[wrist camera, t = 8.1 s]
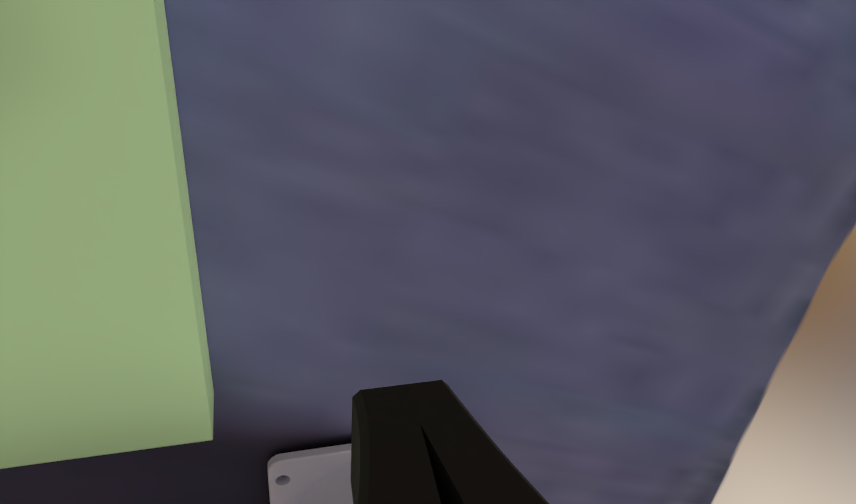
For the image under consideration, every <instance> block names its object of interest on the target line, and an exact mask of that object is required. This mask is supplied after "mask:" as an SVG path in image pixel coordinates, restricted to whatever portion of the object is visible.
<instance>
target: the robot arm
mask: <svg viewBox="0 0 856 504" xmlns="http://www.w3.org/2000/svg"><path fill="white" fill-rule="evenodd" d="M267 469H268V483H269V496H270V504H549V503H548V502H547V501H546V500H545V499H544V498H543V497H542V496H541V494H540V493H539V492H538V491H537V490H536V489H535V488H534V487H533V486H532V485H531V484H530V482H529V481H528V480H527V479H526V478H525V477H524V476H523V475H522V474H521V473H520V472H519V470H518V469H517V468H516V467H515V466H514V465H513V464H512V463H511V462H510V460H509V459H508V458H507V457H506V456H505V455H504V454H503V452H502V451H501V450H500V449H499V448H498V447H497V445H496V444H495V443H494V442H493V441H492V439H491V438H490V437H489V436H488V435H487V433H486V432H485V431H484V430H483V429H482V427H481V426H480V425H479V424H478V423H477V421H476V420H475V419H474V418H473V416H472V415H471V414H470V413H469V411H468V410H467V409H466V408H465V406H464V405H463V404H462V403H461V401H460V400H459V399H458V398H457V396H456V395H455V394H454V392H453V391H452V390H451V389H450V387H449V386H448V385H447V384H446V383H445V382H443V381H442V380H438V381H430V382H422V383H414V384H406V385H398V386H390V387H382V388H374V389H365V390H360V391H359V392H358V393H357V394H355V395H354V396H353V397H352V439H351V443H350V444H343V445H336V446H329V447H323V448H316V449H309V450H302V451H295V452H288V453H281V454H277V455H275V456H273V457H272V458H271V459H270V460H269V461H268V464H267ZM282 475H286V476H283V477H280V476H282Z"/></svg>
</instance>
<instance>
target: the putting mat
mask: <svg viewBox="0 0 856 504" xmlns="http://www.w3.org/2000/svg"><path fill="white" fill-rule="evenodd" d="M213 409H214V391H213V383H212V375H211V367H210V359H209V351H208V344H207V336H206V328H205V320H204V312H203V304H202V297H201V289H200V281H199V273H198V265H197V257H196V250H195V242H194V234H193V226H192V218H191V210H190V203H189V195H188V187H187V179H186V171H185V163H184V156H183V148H182V140H181V132H180V124H179V116H178V109H177V101H176V93H175V85H174V77H173V69H172V62H171V54H170V46H169V38H168V30H167V22H166V15H165V7H164V0H0V469H3V468H10V467H17V466H25V465H32V464H39V463H47V462H54V461H61V460H69V459H76V458H84V457H91V456H98V455H106V454H113V453H120V452H128V451H135V450H142V449H150V448H157V447H164V446H172V445H179V444H187V443H194V442H201V441H209V440H213Z"/></svg>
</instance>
